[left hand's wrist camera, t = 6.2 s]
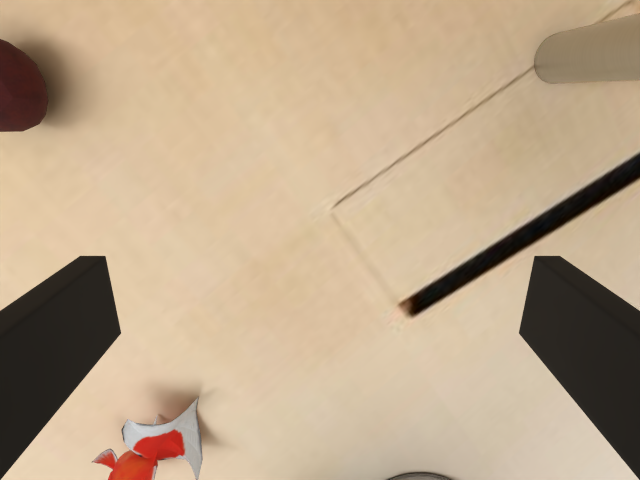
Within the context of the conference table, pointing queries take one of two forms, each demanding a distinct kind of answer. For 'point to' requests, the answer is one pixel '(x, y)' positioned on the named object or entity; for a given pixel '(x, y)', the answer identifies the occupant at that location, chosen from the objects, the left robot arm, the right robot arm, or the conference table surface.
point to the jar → (592, 53)
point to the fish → (156, 447)
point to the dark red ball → (20, 90)
